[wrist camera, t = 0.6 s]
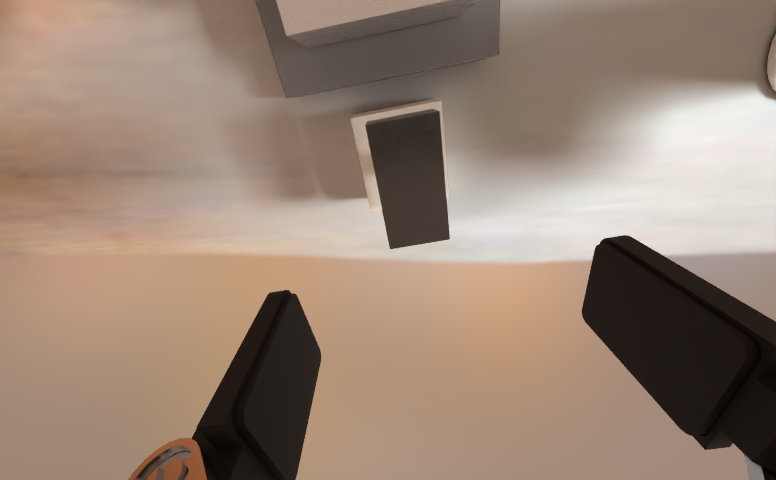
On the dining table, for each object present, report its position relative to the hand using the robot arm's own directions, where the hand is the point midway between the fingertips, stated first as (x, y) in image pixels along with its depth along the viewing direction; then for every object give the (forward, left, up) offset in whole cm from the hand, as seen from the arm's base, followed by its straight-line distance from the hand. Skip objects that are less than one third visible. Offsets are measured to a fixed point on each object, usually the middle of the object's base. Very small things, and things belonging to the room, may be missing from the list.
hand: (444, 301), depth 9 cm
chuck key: (0, 0, -23) cm, 23 cm away
